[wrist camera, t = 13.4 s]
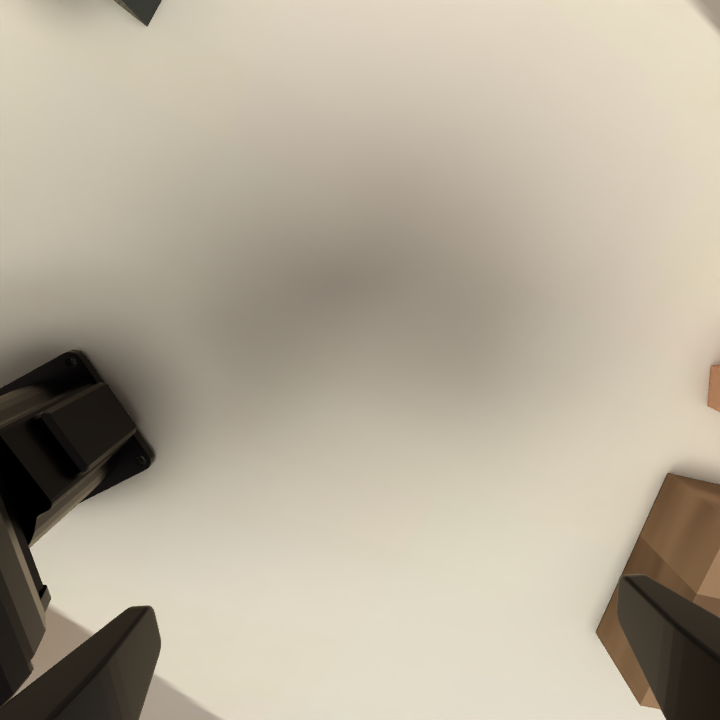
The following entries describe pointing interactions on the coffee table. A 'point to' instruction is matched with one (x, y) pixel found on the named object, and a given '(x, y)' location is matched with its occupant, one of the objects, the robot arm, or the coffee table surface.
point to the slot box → (671, 564)
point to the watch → (140, 8)
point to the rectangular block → (714, 388)
